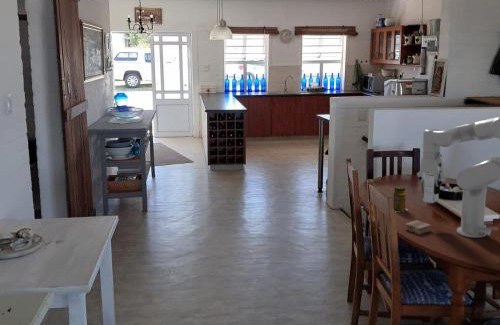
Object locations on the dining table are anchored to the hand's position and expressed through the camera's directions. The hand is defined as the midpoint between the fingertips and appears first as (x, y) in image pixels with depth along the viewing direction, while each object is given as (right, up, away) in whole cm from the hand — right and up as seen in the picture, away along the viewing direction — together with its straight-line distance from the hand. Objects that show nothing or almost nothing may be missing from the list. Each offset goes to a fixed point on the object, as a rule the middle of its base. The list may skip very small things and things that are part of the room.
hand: (430, 191), depth 242 cm
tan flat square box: (-8, -18, -4) cm, 20 cm away
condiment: (-8, -11, +26) cm, 29 cm away
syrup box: (0, -5, +1) cm, 5 cm away
